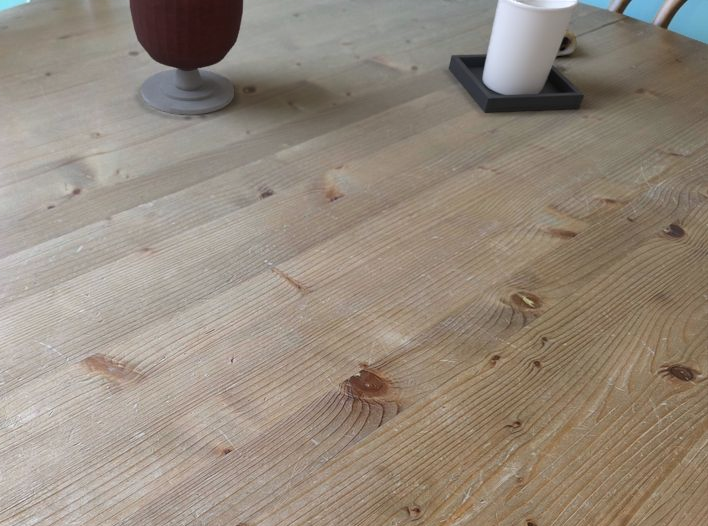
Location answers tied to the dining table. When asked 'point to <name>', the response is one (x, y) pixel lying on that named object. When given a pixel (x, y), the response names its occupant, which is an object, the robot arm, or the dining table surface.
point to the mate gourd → (187, 51)
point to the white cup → (525, 44)
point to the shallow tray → (552, 96)
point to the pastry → (567, 44)
